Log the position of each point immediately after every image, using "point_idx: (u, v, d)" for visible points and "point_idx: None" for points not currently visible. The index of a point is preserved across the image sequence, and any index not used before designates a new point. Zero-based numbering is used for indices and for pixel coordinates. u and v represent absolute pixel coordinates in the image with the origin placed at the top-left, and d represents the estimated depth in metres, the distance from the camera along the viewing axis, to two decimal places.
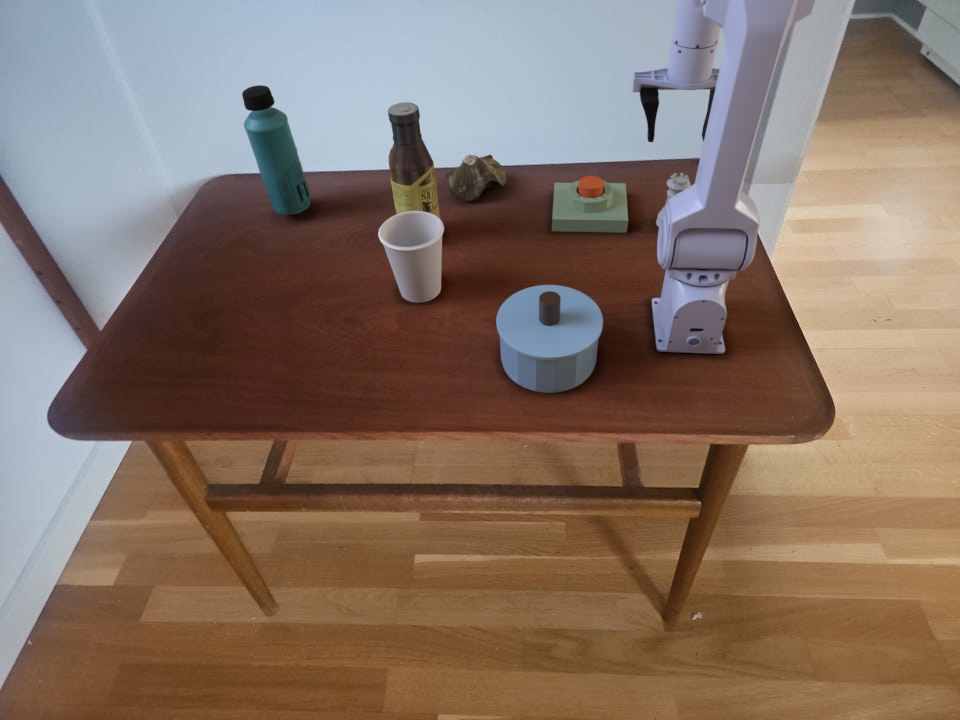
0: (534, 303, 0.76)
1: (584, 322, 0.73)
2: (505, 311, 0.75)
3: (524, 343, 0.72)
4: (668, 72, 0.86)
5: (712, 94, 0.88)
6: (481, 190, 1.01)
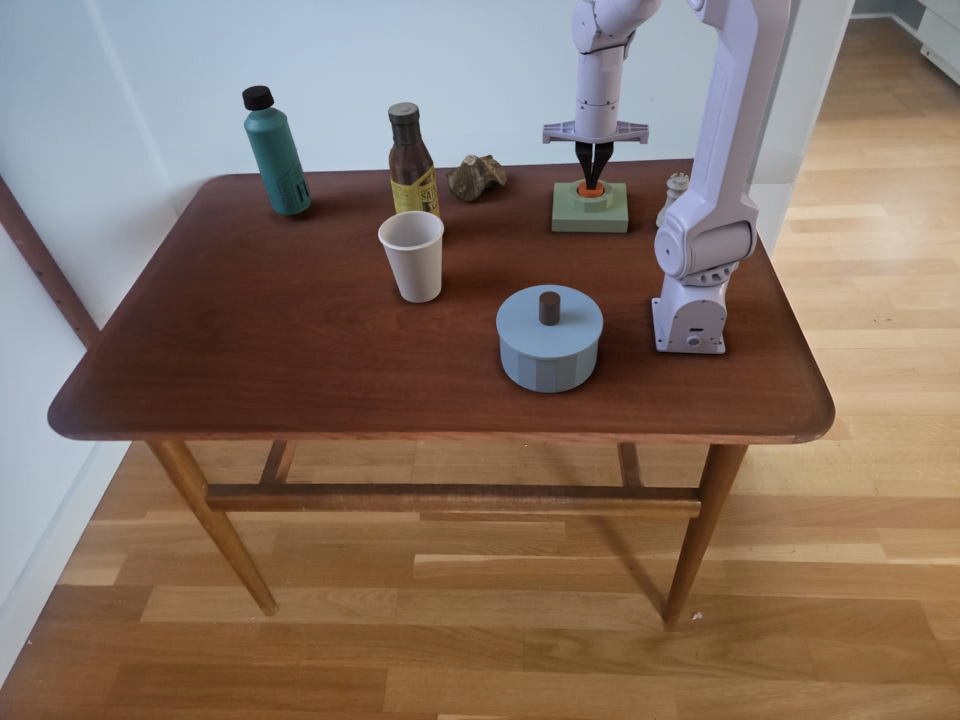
0: (534, 303, 0.76)
1: (584, 322, 0.73)
2: (505, 311, 0.75)
3: (524, 343, 0.72)
4: (575, 125, 0.89)
5: (595, 145, 0.92)
6: (481, 190, 1.01)
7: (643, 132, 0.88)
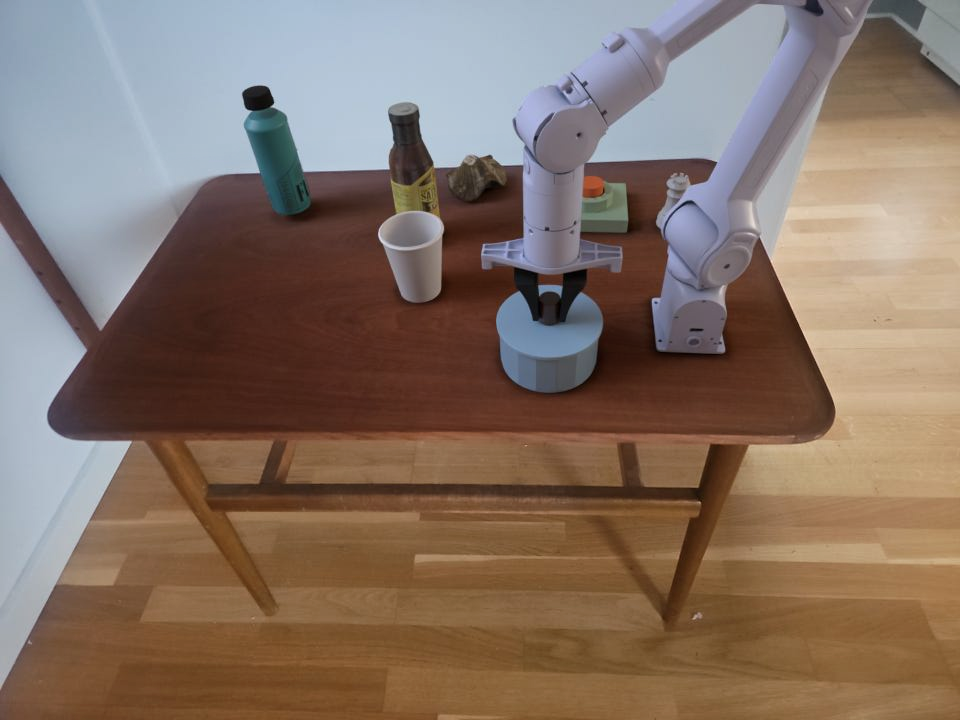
0: None
1: (584, 322, 0.73)
2: (505, 311, 0.75)
3: (524, 343, 0.72)
4: (524, 249, 0.67)
5: None
6: (481, 190, 1.01)
7: (614, 259, 0.66)
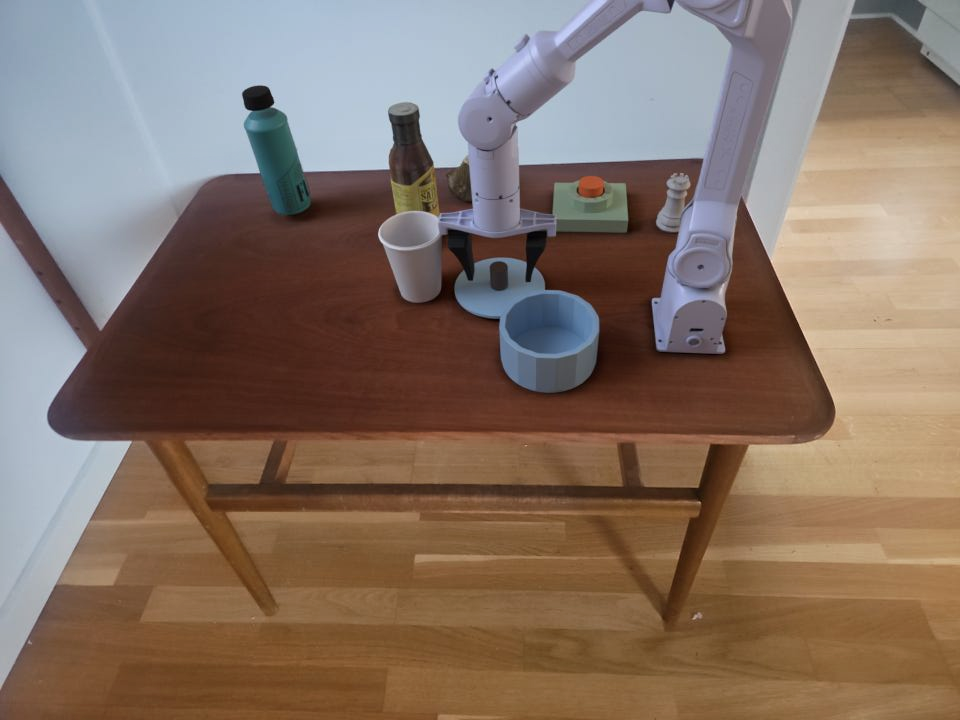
0: (487, 272, 0.89)
1: (529, 288, 0.86)
2: (462, 279, 0.88)
3: (476, 305, 0.84)
4: (473, 216, 0.79)
5: None
6: None
7: (549, 225, 0.78)
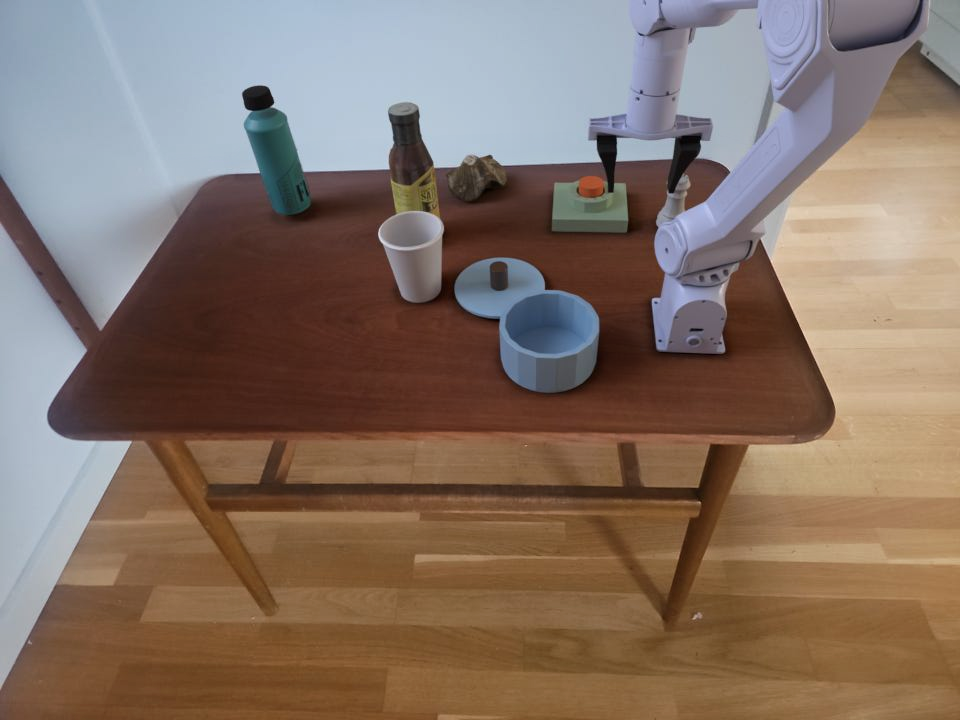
0: (487, 272, 0.89)
1: (529, 288, 0.86)
2: (462, 279, 0.88)
3: (476, 305, 0.84)
4: (627, 119, 0.77)
5: (677, 142, 0.79)
6: (481, 190, 1.01)
7: (706, 127, 0.76)
